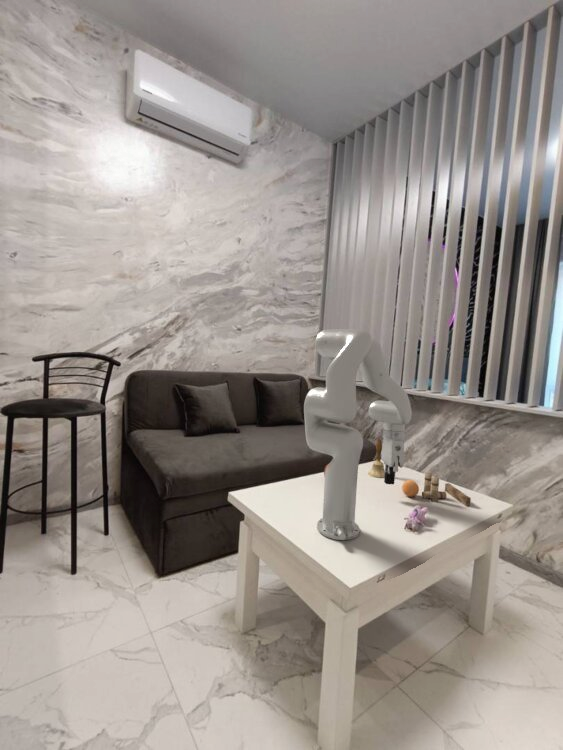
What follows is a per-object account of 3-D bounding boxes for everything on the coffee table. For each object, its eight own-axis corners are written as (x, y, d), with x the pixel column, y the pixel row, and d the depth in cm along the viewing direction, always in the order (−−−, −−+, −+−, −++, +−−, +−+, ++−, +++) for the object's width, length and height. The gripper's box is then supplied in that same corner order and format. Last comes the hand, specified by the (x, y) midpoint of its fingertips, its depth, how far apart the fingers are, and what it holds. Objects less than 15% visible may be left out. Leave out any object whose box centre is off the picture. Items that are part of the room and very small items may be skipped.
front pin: (424, 499, 132) (446, 499, 133) (425, 493, 132) (446, 493, 132) (421, 496, 134) (442, 496, 135) (421, 490, 134) (443, 490, 135)
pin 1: (431, 496, 135) (433, 474, 134) (425, 496, 135) (427, 474, 134) (428, 493, 137) (430, 472, 137) (422, 493, 137) (423, 472, 137)
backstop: (470, 506, 128) (470, 498, 127) (466, 506, 127) (466, 498, 127) (448, 490, 141) (449, 483, 141) (444, 490, 141) (445, 483, 141)
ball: (409, 478, 132) (405, 494, 130) (423, 483, 132) (420, 499, 131) (401, 477, 138) (397, 492, 136) (414, 482, 138) (411, 498, 136)
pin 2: (438, 502, 130) (440, 479, 129) (432, 502, 130) (434, 479, 129) (435, 499, 132) (437, 477, 132) (428, 499, 132) (430, 477, 132)
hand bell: (378, 479, 151) (380, 442, 150) (364, 473, 158) (366, 438, 157) (391, 476, 155) (393, 440, 154) (377, 470, 162) (379, 436, 161)
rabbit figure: (419, 539, 106) (432, 514, 117) (420, 521, 104) (433, 498, 116) (398, 532, 109) (413, 508, 121) (398, 515, 108) (413, 493, 120)
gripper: (412, 439, 123) (407, 491, 124) (394, 430, 138) (390, 477, 139) (391, 438, 122) (387, 490, 123) (376, 429, 137) (372, 476, 138)
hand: (389, 483), depth 131 cm, fingers closed
